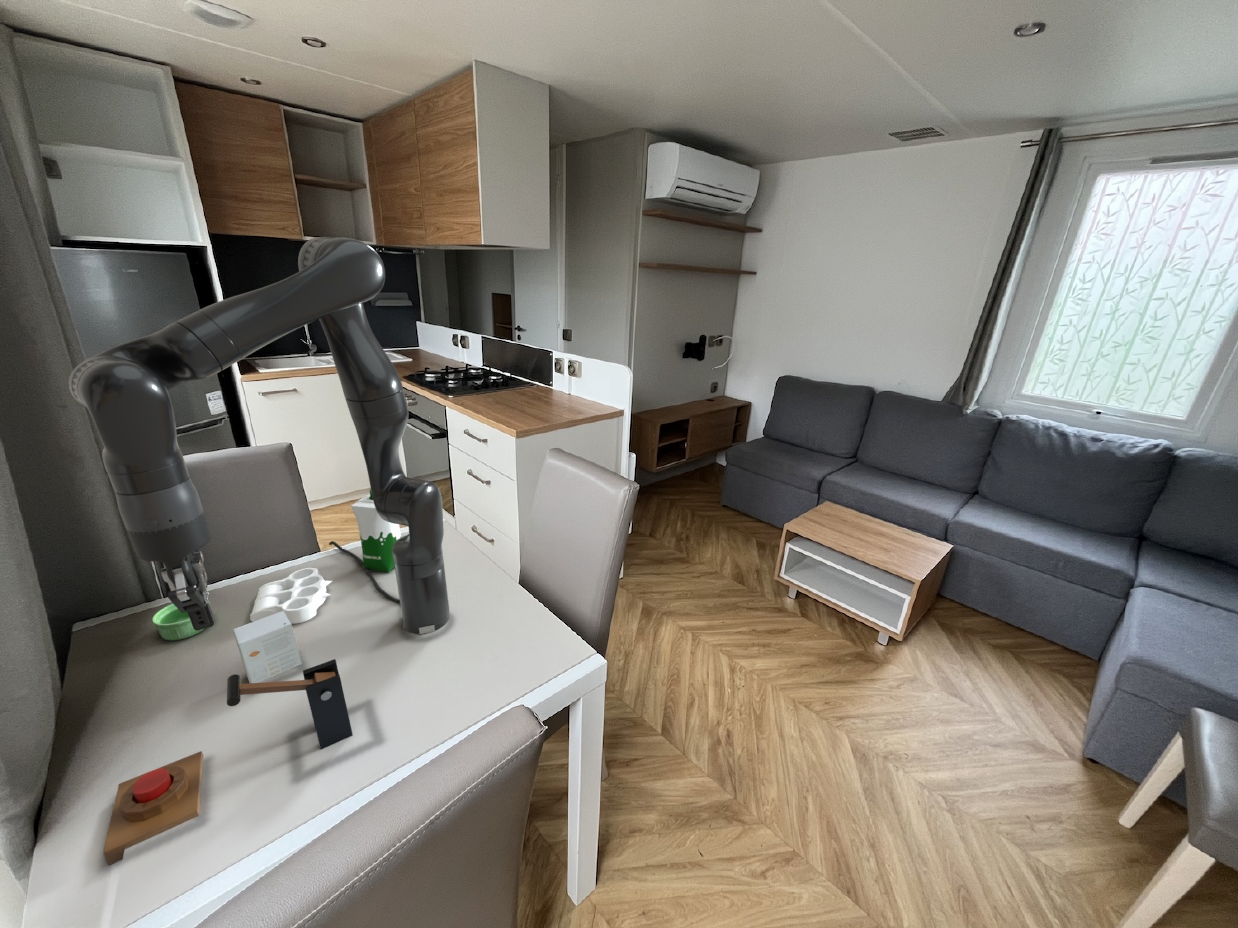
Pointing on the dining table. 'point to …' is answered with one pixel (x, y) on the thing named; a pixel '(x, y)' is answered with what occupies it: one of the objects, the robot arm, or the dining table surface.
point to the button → (151, 785)
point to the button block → (154, 808)
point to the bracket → (328, 705)
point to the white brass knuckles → (292, 596)
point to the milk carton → (375, 535)
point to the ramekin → (174, 623)
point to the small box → (267, 647)
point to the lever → (268, 686)
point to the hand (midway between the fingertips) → (205, 625)
